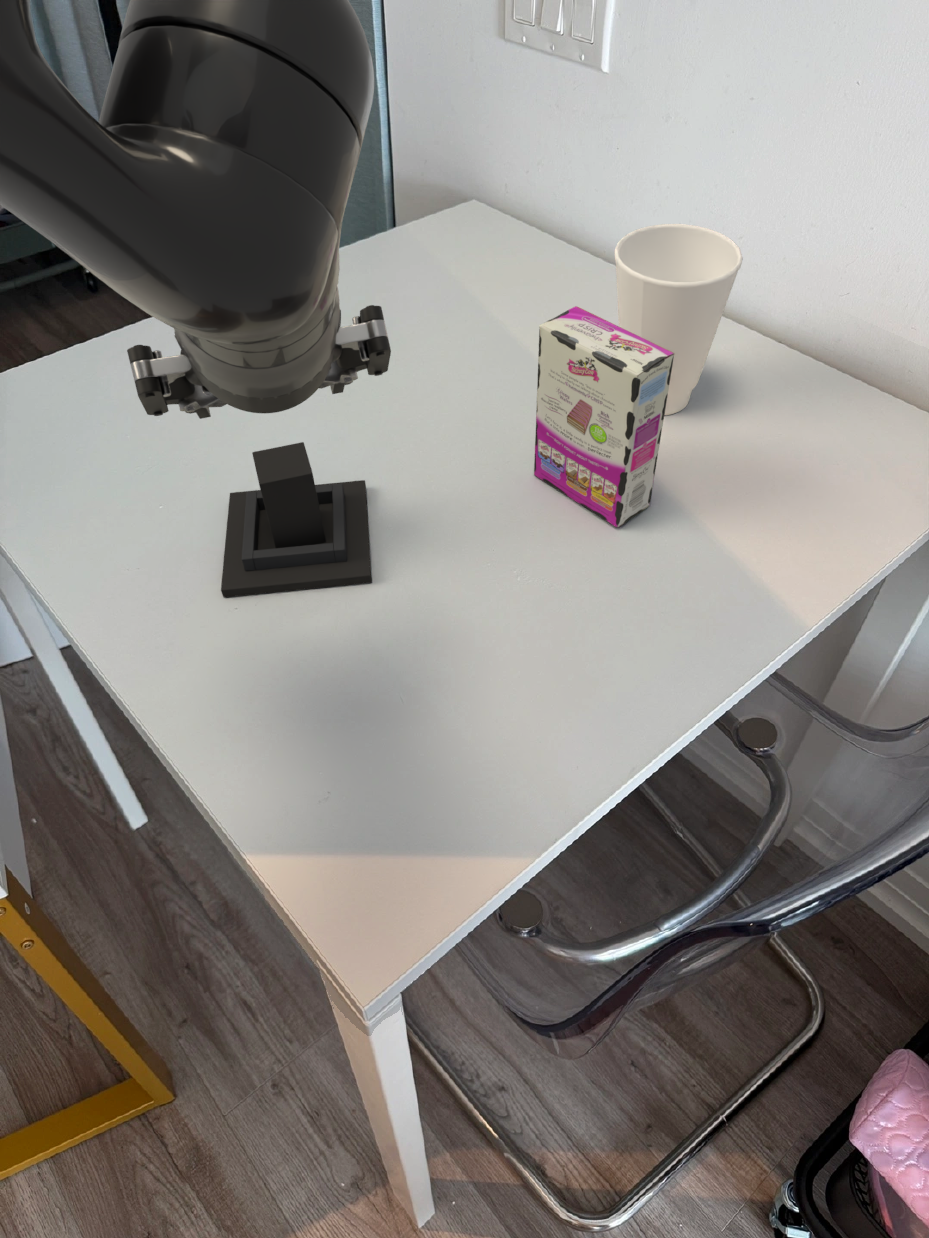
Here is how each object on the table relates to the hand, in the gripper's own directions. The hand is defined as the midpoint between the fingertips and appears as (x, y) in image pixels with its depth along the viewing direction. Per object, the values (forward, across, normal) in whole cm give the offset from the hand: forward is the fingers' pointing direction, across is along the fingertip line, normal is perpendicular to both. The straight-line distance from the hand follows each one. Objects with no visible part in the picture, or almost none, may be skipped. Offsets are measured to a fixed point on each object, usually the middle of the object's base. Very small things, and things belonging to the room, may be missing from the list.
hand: (268, 390), depth 58 cm
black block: (+24, 0, +8) cm, 26 cm away
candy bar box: (+24, -28, +10) cm, 38 cm away
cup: (+32, -40, +1) cm, 52 cm away
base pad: (+25, 0, +9) cm, 27 cm away
